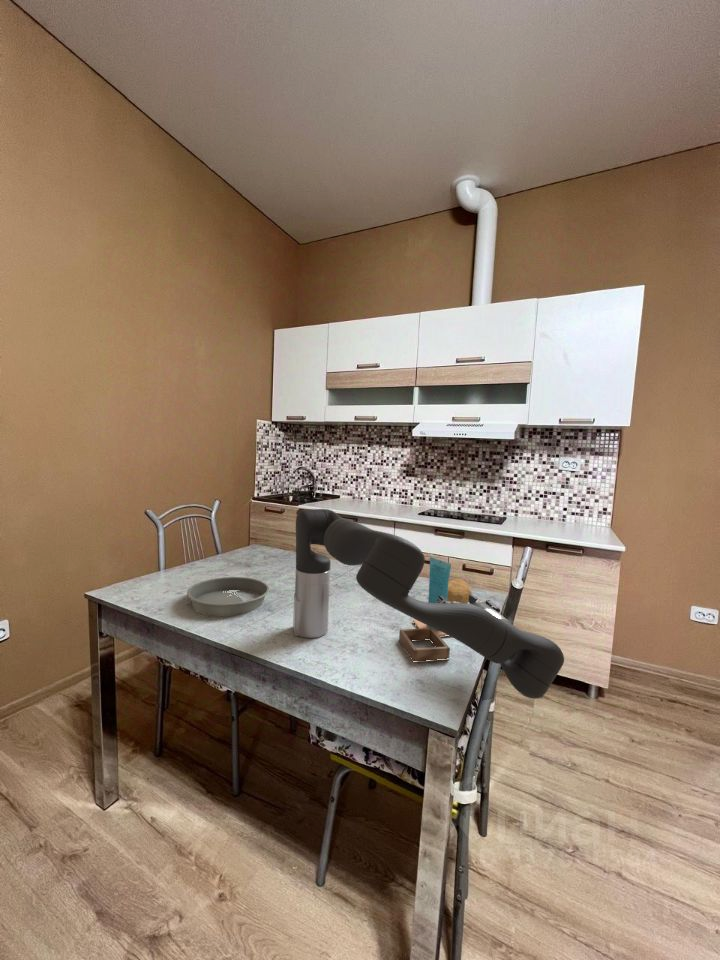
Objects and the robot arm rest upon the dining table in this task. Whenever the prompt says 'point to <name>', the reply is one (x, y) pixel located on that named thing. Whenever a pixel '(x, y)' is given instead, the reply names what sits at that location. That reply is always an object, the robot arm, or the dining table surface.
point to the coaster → (422, 625)
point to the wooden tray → (424, 653)
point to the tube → (438, 580)
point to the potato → (458, 591)
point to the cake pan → (216, 603)
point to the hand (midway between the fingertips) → (454, 598)
